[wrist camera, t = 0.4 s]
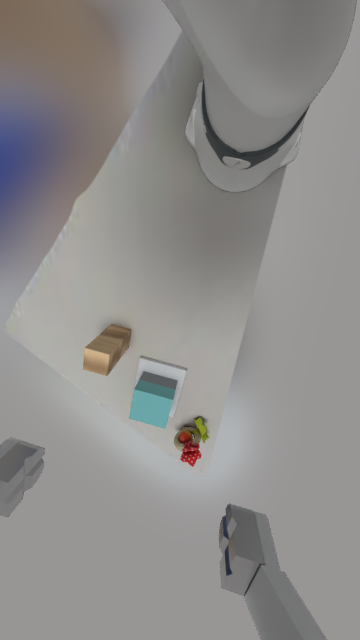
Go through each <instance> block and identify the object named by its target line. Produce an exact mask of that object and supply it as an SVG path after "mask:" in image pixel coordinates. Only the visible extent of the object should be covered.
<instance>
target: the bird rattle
mask: <svg viewBox="0 0 360 640" xmlns="http://www.w3.org/2000/svg"><path fill="white" fill-rule="evenodd" d="M194 422H195V424H196V426H197V427H198V429H195V428H192V427H183V429H182V430H180V431H179V432H178V433H177V434H176V436H175V438H174V444H175V447H176V448H177V449H178V450H180V451H183V453H182V456H181V461H183V462H188V463H189V464H190V465H191V466H192V467H193V466H194V465H195V462H196V460H197V459H199V458H201V453H200V451H199V450H198V449H199V443H200V440H201V438H202V440H203V443H205V440H206V439H208V438H209V436H208V435H207V433H206V431H207V428H206V426H205V425H203V422H202V418H198V419H197V420H196V419H194ZM192 434H193V435H194V439H193V436H192Z"/></svg>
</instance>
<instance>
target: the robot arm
mask: <svg viewBox="0 0 360 640" xmlns="http://www.w3.org/2000/svg"><path fill="white" fill-rule="evenodd" d="M162 1H163V2H164V3H165V5H166V6H167V8H168V9H169V10H170V12H171V13H172V15H173V16H174V18H175V19H176V21H177V22H178V24H179V25H180V27H181V28H182V30H183V32H184V33H185V35H186V36H187V38H188V39H189V41H190V43H191V44H192V46H193V48H194V49H195V51H196V53H197V55H198V57H199V59H200V61H201V63H202V69H203V76H204V77H203V80H202V83H201V82H200V83H199V85H198V88H197V93H196V95H197V97H196V100H195V103H194V105H193V108H192V111H191V114H190V117H189V120H188V122H187V125H186V129H185V135H186V138H187V140H188V142H189V143H190V144H191V146H192V147H193V148H194V149H195V151H196V153H197V156H198V160H199V163H200V166H201V168H202V171H203V172H204V174H205V176H206V177H207V178H208V180H209V181H210V182H211V183H212V184H214V185H215V186H216V187H218V188H220V189H222V190H225V191H229V192H242V191H246V190H249V189H252V188H254V187H256V186H257V185H259V184H260V183H262V182H263V181H264V180H265V179H266V178H267V177H268V176H269V175H270V174H271V173H273V172H274V171H275V170H276V169H278V168H281V167H283V166H285V165H287V164H289V163H290V162H292V161H293V160H294V159H295V157H296V156H297V153H298V149H299V143H300V138H301V132H302V127H303V122H304V117H305V114H306V112H307V110H308V108H309V106H310V104H311V103H312V101H313V100H314V99H315V97H316V96H317V95H318V93H319V92H320V90H321V89H322V88H323V86H324V85H325V84H326V82H327V81H328V80H329V78H330V76H331V75H332V73H333V72H334V70H335V68H336V66H337V64H338V62H339V60H340V58H341V55H342V53H343V51H344V49H345V46H346V44H347V41H348V38H349V35H350V32H351V28H352V24H353V20H354V16H355V9H356V2H357V0H162ZM44 454H45V448H43V447H40V446H36V445H33V444H31V443H28V442H25V441H22V440H18V439H15V438H12V437H11V438H9V439H7V440H5V441H4V442H3V443H2V444H1V445H0V515H2V516H5V517H9V516H10V514H11V513H12V512H13V510H14V509H15V508H16V507H17V506H18V504H19V503H20V502H21V501H22V499H23V495H24V492H25V491H26V490H28V489H30V488H31V487H33V485H34V484H35V483H36V481H37V480H38V478H39V476H40V474H41V473H42V470H43V467H44V461H43V459H42V456H43V455H44ZM219 547H220V549H221V551H222V554H223V556H222V559H221V561H220V575H221V588H223V589H226V590H229V591H231V592H234V593H237V594H240V595H242V596H245V597H244V599H245V602H246V604H247V607H248V609H249V611H250V614H251V616H252V619H253V621H254V624H255V626H256V629H257V631H258V634H259V636H260V639H261V640H327V639H326V637H325V636H324V634H323V633H322V631H321V629H320V628H319V626H318V625H317V623H316V621H315V620H314V618H313V617H312V615H311V613H310V612H309V610H308V609H307V607H306V606H305V604H304V602H303V601H302V599H301V597H300V596H299V594H298V593H297V591H296V590H295V588H294V586H293V585H292V583H291V582H290V580H289V578H288V577H287V575H286V573H285V572H282V571H281V570H280V566H279V562H278V558H277V554H276V550H275V546H274V541H273V538H272V534H271V529H270V525H269V521H268V518H267V516H266V515H265V514H262V513H258V512H255V511H252V510H250V509H246V508H243V507H239V506H236V505H232V504H228V505H227V507H226V515H225V516H223V517H222V520H221V523H220V529H219Z"/></svg>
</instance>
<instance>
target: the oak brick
mask: <svg viewBox="0 0 360 640" xmlns="http://www.w3.org/2000/svg"><path fill="white" fill-rule="evenodd" d="M130 335H131V329H128V328H124V327H120V326H116V325H113V324H111V325H110V326H109V327H108V328H107V329H106V330H104V331H103V332H102V333H101V334H100V335H99V336H98V337H96V338H95V339H94V340H93V341H92V342H91V343H90V344H88V345H87V346H86V347H85V348H84V364H83V369H84V370H88V371H91V372H95V373H99V374H102V375H106V376H107V375H108V374H109V373H110V371H111V370H112V369H113V367H114V366H115V365H116V363H117V362H118V361H119V359H120V358H121V357H122V355H123V354H124V353H125V351H126V350H127V349H128V347H129V342H130Z"/></svg>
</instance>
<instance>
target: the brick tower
mask: <svg viewBox="0 0 360 640" xmlns="http://www.w3.org/2000/svg"><path fill="white" fill-rule="evenodd" d="M186 372H187V368H183V367H180V366H176V365H172V364H169V363H165V362H161V361H158V360H154V359H151V358H147V357H143V356H141V357H140V360H139V366H138V371H137V377H136V382H135V388H134V393H133V399H132V404H131V410H130V416H129V418H130V419H133V420H137V421H140V422H144V423H147V424H151V425H154V426H158V427H161V428H166V424H167V421H168V417H171V418H173V416H174V413H175V410H176V406H177V403H178V399H179V396H180V392H181V389H182V385H183V382H184V379H185V375H186Z"/></svg>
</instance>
